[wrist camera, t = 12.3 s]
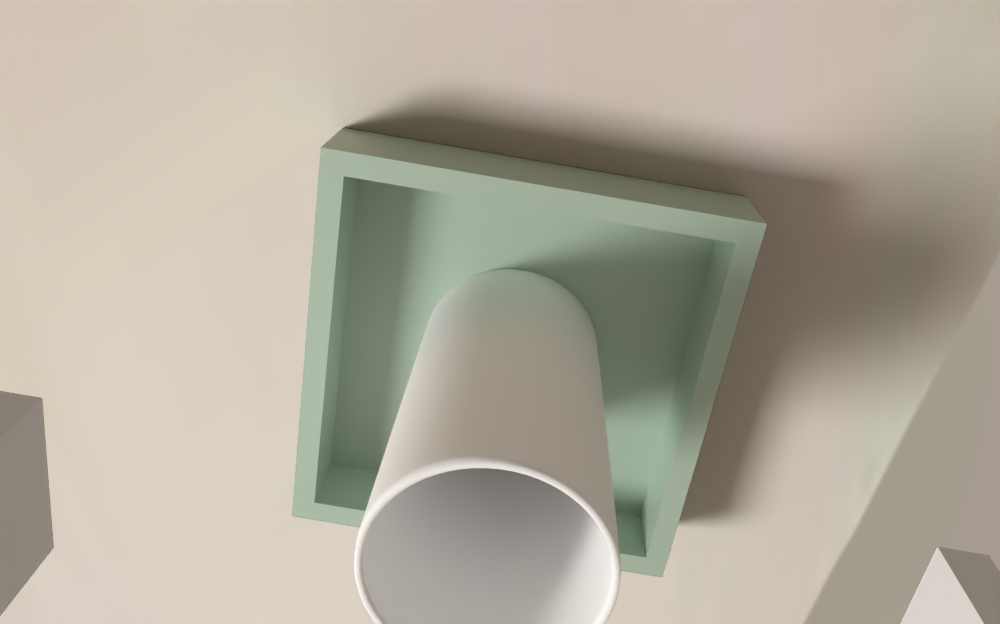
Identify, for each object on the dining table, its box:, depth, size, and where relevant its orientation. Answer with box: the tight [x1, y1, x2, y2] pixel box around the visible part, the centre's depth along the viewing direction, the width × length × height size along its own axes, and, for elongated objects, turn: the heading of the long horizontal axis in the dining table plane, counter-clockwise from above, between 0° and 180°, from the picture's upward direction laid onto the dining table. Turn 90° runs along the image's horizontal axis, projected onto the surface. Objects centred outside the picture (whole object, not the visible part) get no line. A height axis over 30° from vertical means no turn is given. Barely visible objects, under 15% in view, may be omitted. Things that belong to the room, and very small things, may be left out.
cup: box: [354, 269, 621, 624], centre depth 34 cm, size 8×8×16 cm
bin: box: [292, 128, 767, 577], centre depth 40 cm, size 18×18×4 cm
